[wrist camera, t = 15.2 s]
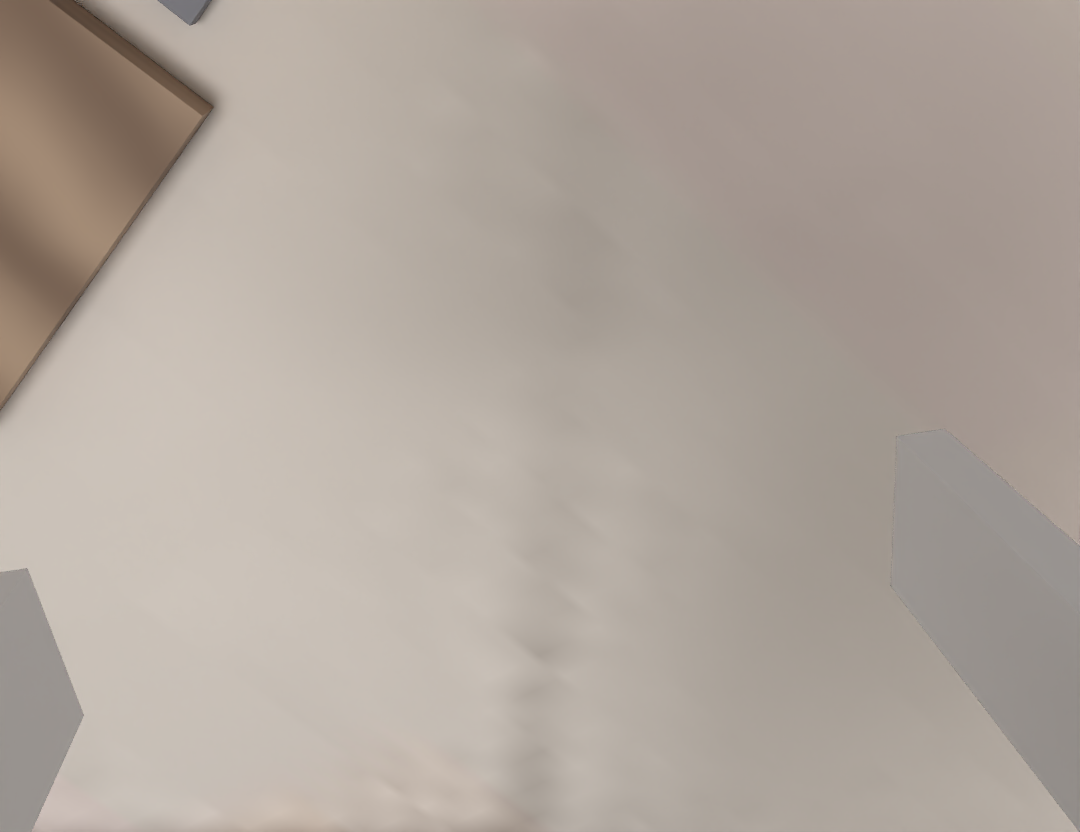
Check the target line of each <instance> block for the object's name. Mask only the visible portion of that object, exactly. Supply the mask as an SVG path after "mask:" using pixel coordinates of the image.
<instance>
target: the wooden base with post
mask: <svg viewBox="0 0 1080 832" xmlns="http://www.w3.org/2000/svg"><path fill="white" fill-rule="evenodd" d="M212 109H213V106H211V105H210V104H209V103H208V102H206V101H205V100H204V99H202V98H201V97H200V96H198V95H197V94H196V93H194V92H193V91H192V90H190V89H189V88H188V87H186V86H185V85H184V84H183V83H181V82H180V81H179V80H177V79H176V78H175V77H173V76H172V75H171V74H169V73H168V72H167V71H165V70H164V69H163V68H161V67H160V66H159V65H158V64H156V63H155V62H154V61H152V60H151V59H150V58H148V57H147V56H146V55H144V54H143V53H142V52H140V51H139V50H138V49H136V48H135V47H134V46H133V45H131V44H130V43H129V42H127V41H126V40H125V39H123V38H122V37H121V36H119V35H118V34H117V33H115V32H114V31H113V30H111V29H110V28H109V27H107V26H106V25H105V24H104V23H102V22H101V21H100V20H98V19H97V18H96V17H94V16H93V15H92V14H90V13H89V12H88V11H86V10H85V9H84V8H82V7H81V6H80V5H79V4H77V3H76V2H75V1H73V0H0V411H1V409H2V408H3V406H4V405H5V404H6V402H7V401H8V399H9V398H10V396H11V395H12V394H13V392H14V391H15V389H16V388H17V386H18V385H19V384H20V382H21V381H22V379H23V378H24V376H25V375H26V374H27V372H28V371H29V369H30V368H31V366H32V365H33V364H34V362H35V361H36V359H37V358H38V357H39V355H40V354H41V352H42V351H43V349H44V348H45V347H46V345H47V344H48V342H49V341H50V339H51V338H52V337H53V335H54V334H55V332H56V331H57V329H58V328H59V327H60V325H61V324H62V322H63V321H64V320H65V318H66V317H67V315H68V314H69V312H70V311H71V310H72V308H73V307H74V305H75V304H76V302H77V301H78V300H79V298H80V297H81V295H82V294H83V292H84V291H85V290H86V288H87V287H88V285H89V284H90V282H91V281H92V280H93V278H94V277H95V275H96V274H97V273H98V271H99V270H100V268H101V267H102V265H103V264H104V263H105V261H106V260H107V258H108V257H109V255H110V254H111V253H112V251H113V250H114V248H115V247H116V245H117V244H118V243H119V241H120V240H121V238H122V237H123V235H124V234H125V233H126V231H127V230H128V228H129V227H130V226H131V224H132V223H133V221H134V220H135V218H136V217H137V216H138V214H139V213H140V211H141V210H142V208H143V207H144V206H145V204H146V203H147V201H148V200H149V198H150V197H151V196H152V194H153V193H154V191H155V190H156V188H157V187H158V186H159V184H160V183H161V181H162V180H163V179H164V177H165V176H166V174H167V173H168V171H169V170H170V169H171V167H172V166H173V164H174V163H175V161H176V160H177V159H178V157H179V156H180V154H181V153H182V151H183V150H184V149H185V147H186V146H187V144H188V143H189V142H190V140H191V139H192V137H193V136H194V134H195V133H196V132H197V130H198V129H199V127H200V126H201V124H202V123H203V122H204V120H205V119H206V117H207V116H208V114H209V113H210V112H211V110H212Z"/></svg>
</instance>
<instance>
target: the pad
mask: <svg viewBox="0 0 1080 832" xmlns="http://www.w3.org/2000/svg"><path fill="white" fill-rule="evenodd" d="M158 1H159V2H160V3H162V4H163V5H164V6H165V7H167V8H168V9H169V10H170V11H172V12H173V13H174V14H176V15H177V16H178V17H179V18H181V19H182V20H183V21H184V22H186V23H187V24H188V25H193V24H195V23H196V22H197V21H198V19H199V18H200V16H201V15H202V13H203V12H204V10H205V9H206V7H207V6H208V5H209V3H210V2H211V0H158Z"/></svg>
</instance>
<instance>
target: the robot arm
mask: <svg viewBox="0 0 1080 832" xmlns="http://www.w3.org/2000/svg"><path fill="white" fill-rule="evenodd" d="M891 587H892V588H893V590H894V591H895V592H896V594H897V595H898V596H899V598H900V599H901V600H902V601H903V603H904V604H905V605H906V607H907V608H908V609H909V611H910V612H911V613H912V615H913V616H914V617H915V618H916V620H917V621H918V622H919V624H920V625H921V626H922V628H923V629H924V630H925V631H926V633H927V634H928V635H929V637H930V638H931V639H932V641H933V642H934V643H935V644H936V646H937V647H938V648H939V650H940V651H941V652H942V654H943V655H944V656H945V658H946V659H947V660H948V661H949V663H950V664H951V665H952V667H953V668H954V669H955V671H956V672H957V673H958V674H959V676H960V677H961V678H962V680H963V681H964V682H965V684H966V685H967V686H968V688H969V689H970V690H971V691H972V693H973V694H974V695H975V697H976V698H977V699H978V701H979V702H980V703H981V704H982V706H983V707H984V708H985V710H986V711H987V712H988V714H989V715H990V716H991V717H992V719H993V720H994V721H995V723H996V724H997V725H998V727H999V728H1000V729H1001V731H1002V732H1003V733H1004V734H1005V736H1006V737H1007V738H1008V740H1009V741H1010V742H1011V744H1012V745H1013V746H1014V747H1015V749H1016V750H1017V751H1018V753H1019V754H1020V755H1021V757H1022V758H1023V759H1024V760H1025V762H1026V763H1027V764H1028V766H1029V767H1030V768H1031V770H1032V771H1033V772H1034V774H1035V775H1036V776H1037V777H1038V779H1039V780H1040V781H1041V783H1042V784H1043V785H1044V787H1045V788H1046V789H1047V790H1048V792H1049V793H1050V794H1051V796H1052V797H1053V798H1054V800H1055V801H1056V802H1057V804H1058V805H1059V806H1060V807H1061V809H1062V810H1063V811H1064V813H1065V814H1066V815H1067V817H1068V818H1069V819H1070V820H1071V822H1072V823H1073V824H1074V826H1075V827H1076V828H1077V830H1078V831H1079V832H1080V546H1079V545H1078V544H1077V543H1076V542H1075V541H1073V540H1072V539H1071V538H1070V537H1069V536H1068V535H1067V534H1065V533H1064V532H1063V531H1062V530H1061V529H1060V528H1058V527H1057V526H1056V525H1055V524H1054V523H1053V522H1052V521H1050V520H1049V519H1048V518H1047V517H1046V516H1045V515H1044V514H1042V513H1041V512H1040V511H1039V510H1038V509H1037V508H1035V507H1034V506H1033V505H1032V504H1031V503H1030V502H1029V501H1027V500H1026V499H1025V498H1024V497H1023V496H1022V495H1021V494H1019V493H1018V492H1017V491H1016V490H1015V489H1014V488H1012V487H1011V486H1010V485H1009V484H1008V483H1007V482H1006V481H1004V480H1003V479H1002V478H1001V477H1000V476H999V475H998V474H996V473H995V472H994V471H993V470H992V469H991V468H989V467H988V466H987V465H986V464H985V463H984V462H983V461H981V460H980V459H979V458H978V457H977V456H976V455H975V454H973V453H972V452H971V451H970V450H969V449H968V448H966V447H965V446H964V445H963V444H962V443H961V442H960V441H958V440H957V439H956V438H955V437H954V436H953V435H952V434H950V433H949V432H948V431H947V430H946V429H940V430H934V431H927V432H920V433H914V434H907V435H901V436H897V441H896V465H895V490H894V514H893V539H892V563H891ZM83 716H84V714H83V712H82V709H81V706H80V704H79V701H78V699H77V696H76V693H75V691H74V688H73V686H72V683H71V680H70V678H69V675H68V673H67V670H66V667H65V665H64V662H63V660H62V657H61V654H60V652H59V649H58V647H57V644H56V641H55V639H54V636H53V634H52V631H51V628H50V626H49V623H48V621H47V618H46V615H45V613H44V610H43V608H42V605H41V602H40V600H39V597H38V595H37V592H36V589H35V587H34V584H33V582H32V579H31V576H30V574H29V571H28V569H27V568H26V569H20V570H13V571H6V572H0V832H31V831H32V829H33V827H34V825H35V822H36V820H37V818H38V816H39V814H40V811H41V809H42V807H43V805H44V803H45V800H46V798H47V796H48V794H49V791H50V789H51V787H52V785H53V783H54V780H55V778H56V776H57V774H58V772H59V769H60V767H61V765H62V763H63V761H64V758H65V756H66V754H67V752H68V749H69V747H70V745H71V743H72V741H73V738H74V736H75V734H76V732H77V730H78V727H79V725H80V723H81V721H82V718H83Z"/></svg>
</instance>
